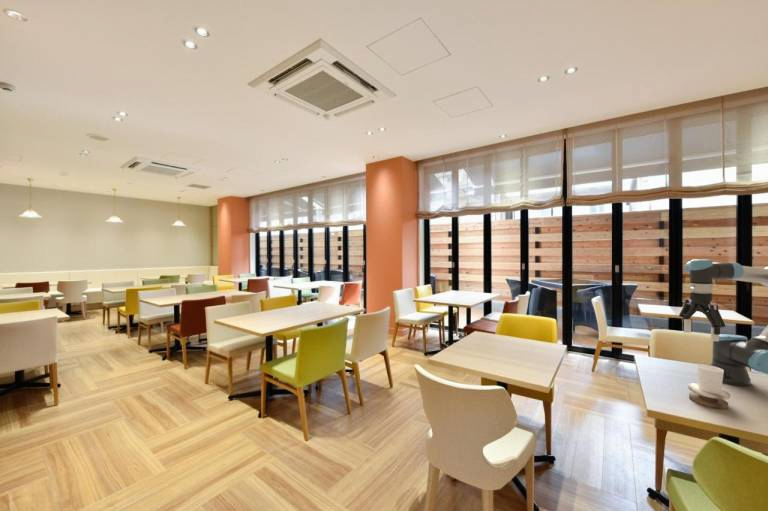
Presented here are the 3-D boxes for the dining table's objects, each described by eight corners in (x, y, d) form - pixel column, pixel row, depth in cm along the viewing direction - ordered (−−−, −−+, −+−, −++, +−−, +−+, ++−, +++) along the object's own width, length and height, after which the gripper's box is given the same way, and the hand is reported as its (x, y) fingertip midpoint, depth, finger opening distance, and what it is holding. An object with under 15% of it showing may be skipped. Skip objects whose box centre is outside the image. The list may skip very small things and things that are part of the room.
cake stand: (711, 395, 145) (711, 383, 144) (739, 410, 132) (739, 398, 131) (679, 394, 146) (680, 382, 146) (704, 408, 133) (705, 396, 133)
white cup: (712, 386, 141) (713, 365, 141) (728, 395, 134) (729, 372, 133) (692, 385, 143) (693, 363, 142) (706, 393, 135) (707, 371, 135)
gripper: (669, 288, 161) (669, 329, 162) (719, 297, 136) (718, 345, 137) (685, 287, 160) (685, 328, 161) (737, 296, 135) (737, 345, 136)
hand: (700, 336), depth 149 cm, fingers open, 13 cm apart
